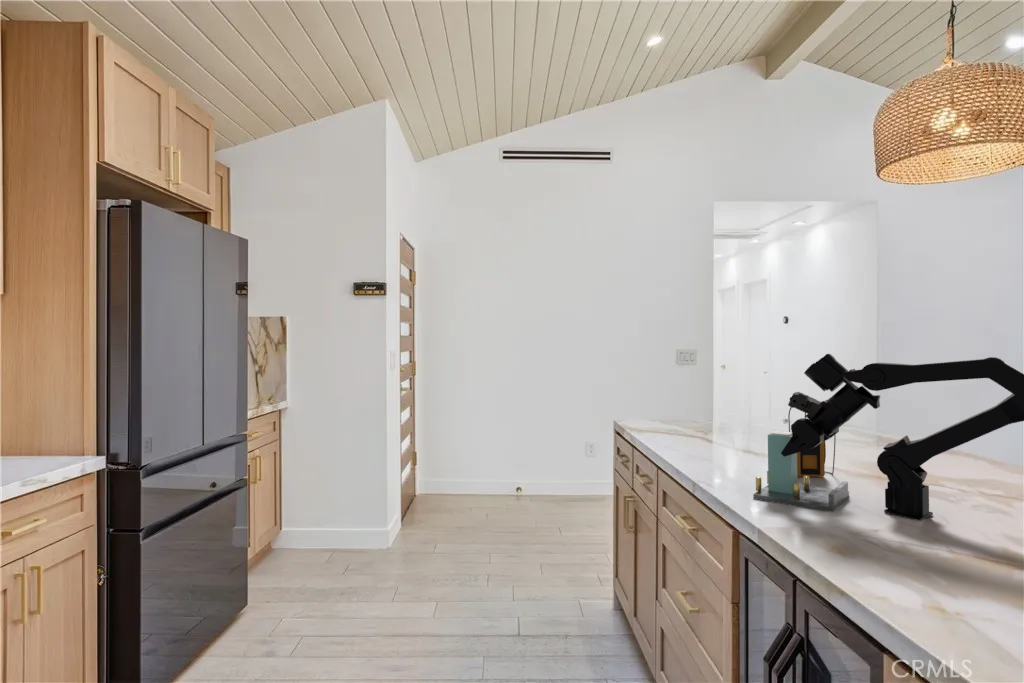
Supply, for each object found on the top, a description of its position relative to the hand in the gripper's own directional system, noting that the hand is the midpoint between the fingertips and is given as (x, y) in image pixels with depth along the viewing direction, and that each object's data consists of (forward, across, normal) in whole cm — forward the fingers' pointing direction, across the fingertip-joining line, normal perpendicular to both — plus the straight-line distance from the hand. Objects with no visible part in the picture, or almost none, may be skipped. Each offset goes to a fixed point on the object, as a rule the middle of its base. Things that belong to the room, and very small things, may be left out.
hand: (788, 451), depth 128 cm
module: (+7, 0, +5) cm, 9 cm away
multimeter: (+10, -26, +5) cm, 28 cm away
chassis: (+6, 0, +9) cm, 10 cm away
